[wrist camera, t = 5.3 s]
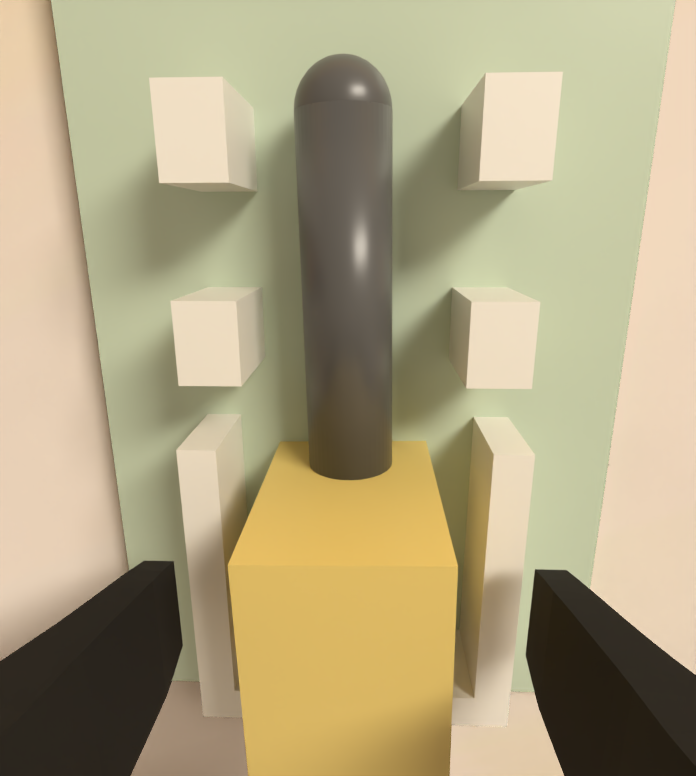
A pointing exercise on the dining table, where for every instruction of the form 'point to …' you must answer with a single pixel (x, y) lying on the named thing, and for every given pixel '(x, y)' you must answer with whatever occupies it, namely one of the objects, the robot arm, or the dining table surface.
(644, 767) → the robot arm
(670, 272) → the dining table surface
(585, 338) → the board
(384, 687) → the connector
